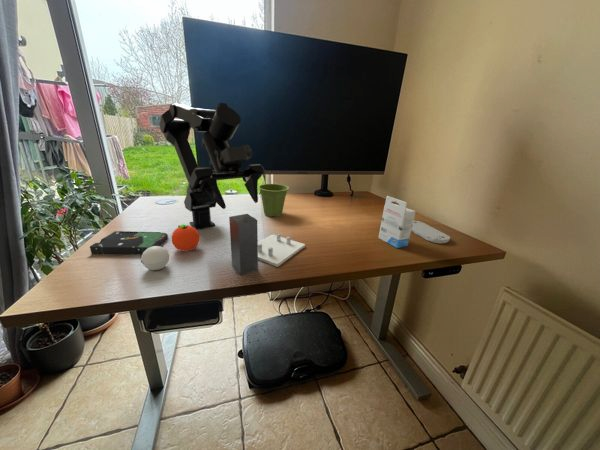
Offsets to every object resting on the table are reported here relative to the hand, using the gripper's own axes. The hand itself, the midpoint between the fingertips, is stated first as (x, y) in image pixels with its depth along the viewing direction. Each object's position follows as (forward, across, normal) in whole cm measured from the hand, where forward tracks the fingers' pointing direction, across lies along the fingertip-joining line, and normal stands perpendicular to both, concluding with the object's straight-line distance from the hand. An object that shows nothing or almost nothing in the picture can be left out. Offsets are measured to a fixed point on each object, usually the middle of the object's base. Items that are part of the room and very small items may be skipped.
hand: (241, 205), depth 61 cm
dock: (+13, +8, +6) cm, 16 cm away
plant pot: (-3, +27, +25) cm, 37 cm away
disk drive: (-3, -21, +26) cm, 34 cm away
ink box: (+25, +42, -9) cm, 49 cm away
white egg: (+8, -20, +13) cm, 25 cm away
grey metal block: (+15, -4, +4) cm, 16 cm away
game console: (+28, +59, -11) cm, 66 cm away
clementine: (+3, -11, +18) cm, 21 cm away
